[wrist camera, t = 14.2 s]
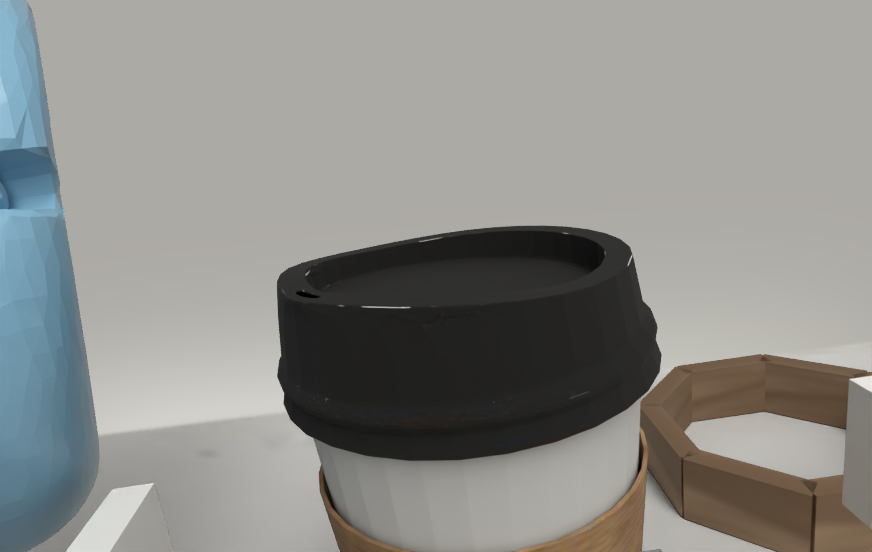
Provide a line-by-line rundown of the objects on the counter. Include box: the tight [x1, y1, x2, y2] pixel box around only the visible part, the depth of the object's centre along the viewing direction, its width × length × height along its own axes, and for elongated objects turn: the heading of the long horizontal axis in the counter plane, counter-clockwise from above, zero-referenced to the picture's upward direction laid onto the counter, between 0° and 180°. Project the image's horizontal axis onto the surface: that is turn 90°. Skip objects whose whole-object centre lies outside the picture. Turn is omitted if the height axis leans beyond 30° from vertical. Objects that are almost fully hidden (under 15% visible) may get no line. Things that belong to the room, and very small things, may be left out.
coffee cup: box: [277, 226, 661, 552], centre depth 15 cm, size 8×8×15 cm
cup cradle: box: [640, 354, 872, 552], centre depth 29 cm, size 12×12×3 cm
